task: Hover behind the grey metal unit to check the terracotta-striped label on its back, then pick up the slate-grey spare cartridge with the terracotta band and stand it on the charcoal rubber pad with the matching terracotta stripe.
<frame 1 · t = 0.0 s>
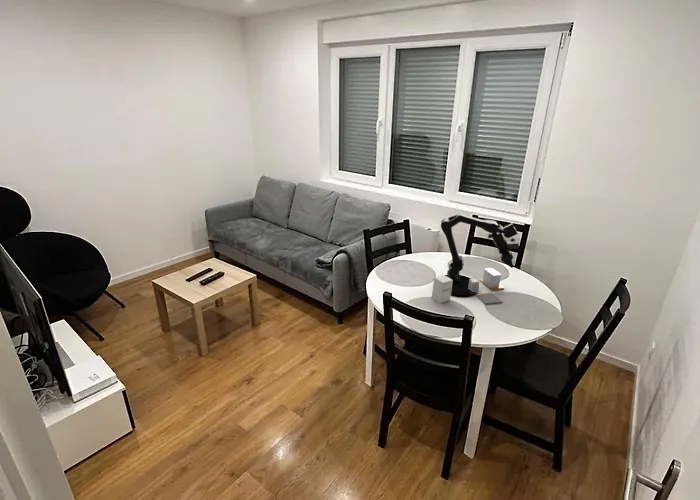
hand: (511, 264, 218), 15 cm above the table, tool tilted 35°, fingers open, 9 cm apart
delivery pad: (488, 299, 211), on the table
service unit: (491, 285, 226), on the table
supplement box: (440, 299, 211), on the table
spare cartridge: (472, 291, 219), on the table
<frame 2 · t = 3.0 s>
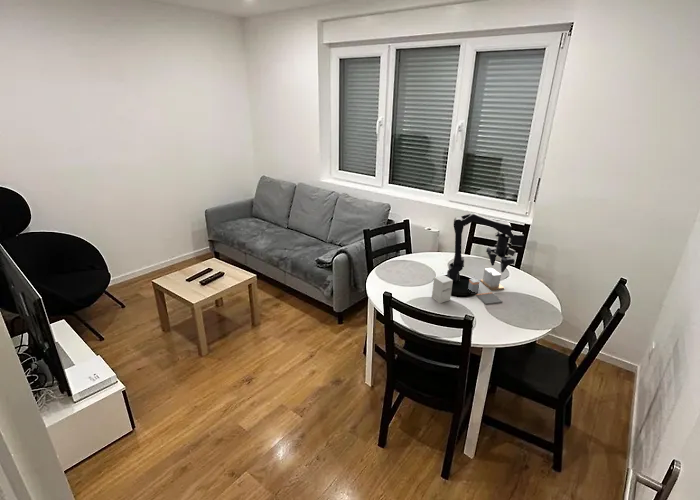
hand: (497, 268, 221), 11 cm above the table, tool pointing down, fingers open, 9 cm apart
nothing on the table moved.
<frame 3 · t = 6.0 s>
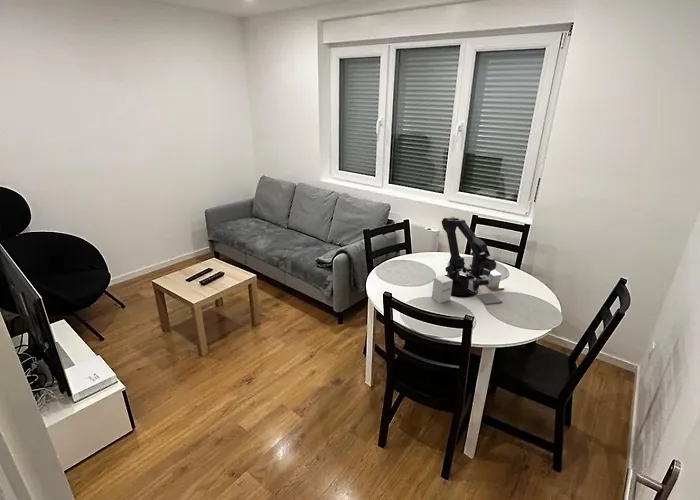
hand: (473, 288, 218), 2 cm above the table, tool pointing down, fingers closed on spare cartridge, 4 cm apart
spare cartridge: (472, 291, 219), on the table, touching gripper
everything else where it was.
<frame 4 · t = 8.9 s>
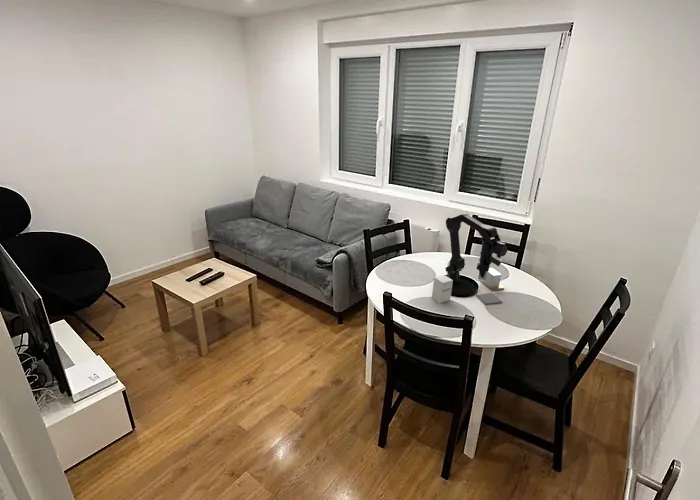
hand: (482, 276, 211), 12 cm above the table, tool pointing down, fingers closed on spare cartridge, 4 cm apart
spare cartridge: (482, 278, 212), point 10 cm above the table, touching gripper
everything else where it was.
when the fingers open (3 cm above the table, at t = 11.9 s): spare cartridge stays where it is, resting on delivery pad.
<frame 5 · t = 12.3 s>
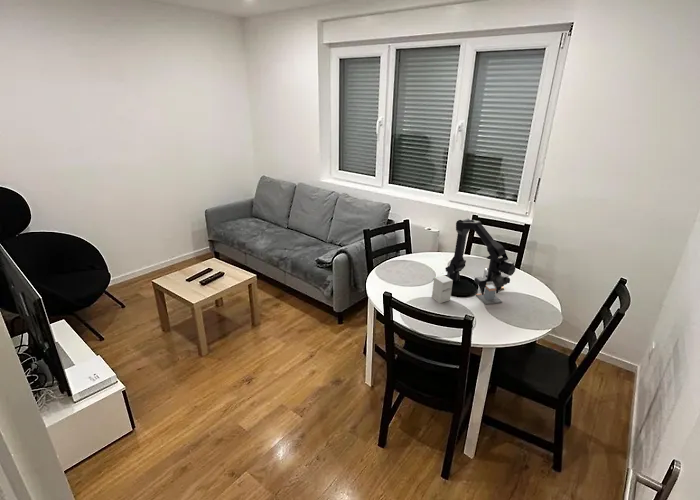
hand: (489, 293, 210), 3 cm above the table, tool pointing down, fingers open, 9 cm apart
spare cartridge: (488, 297, 211), point 1 cm above the table, touching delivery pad
everything else where it was.
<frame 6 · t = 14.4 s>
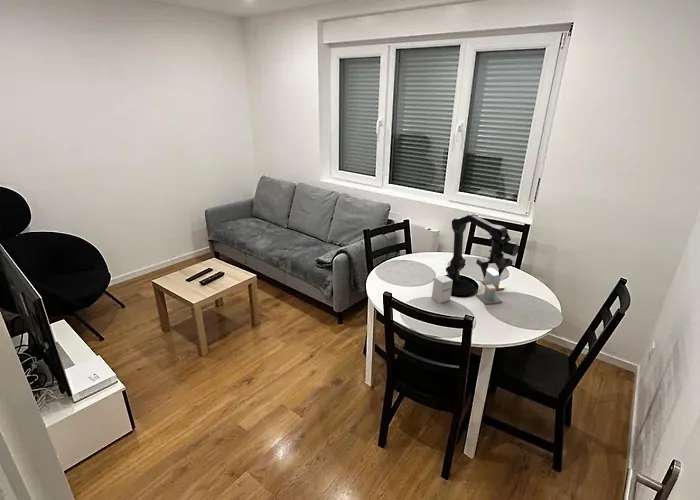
hand: (491, 276, 209), 13 cm above the table, tool pointing down, fingers open, 9 cm apart
nothing on the table moved.
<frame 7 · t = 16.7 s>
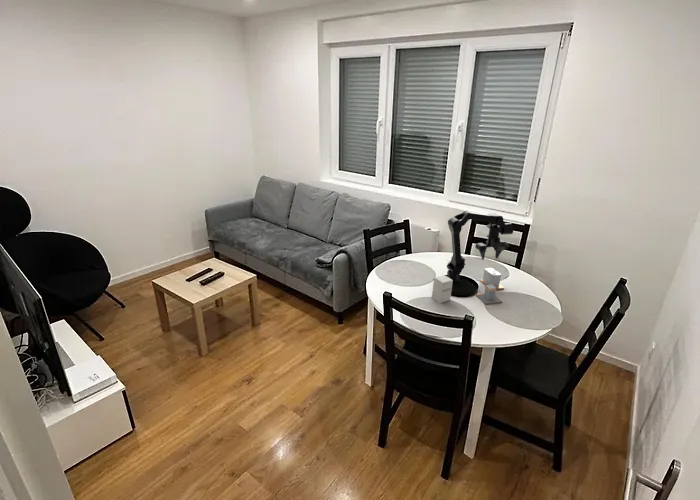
hand: (489, 259, 229), 13 cm above the table, tool pointing down, fingers open, 9 cm apart
nothing on the table moved.
at the end: spare cartridge 0.0 cm off-centre on the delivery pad, point 0.8 cm above the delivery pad's base; spare cartridge tilted 0°; the gripper is holding nothing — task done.
